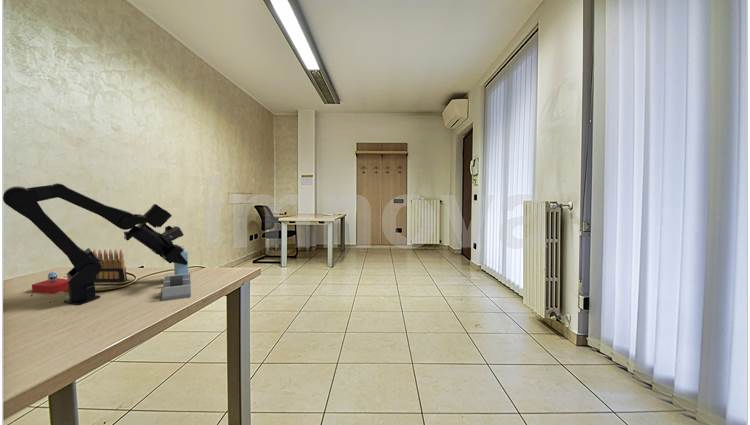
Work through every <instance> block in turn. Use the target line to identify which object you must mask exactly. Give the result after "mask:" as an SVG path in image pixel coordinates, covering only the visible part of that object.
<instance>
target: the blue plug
mask: <svg viewBox="0 0 750 425" xmlns="http://www.w3.org/2000/svg"><path fill="white" fill-rule="evenodd" d="M179 246H180V247H181V248H183V249H184V250H183V251H182V252H181V253H180V254H181V255H182V256H183V257H184V259H185V260H186V261H187V262H188V263H187V265H183V264H178V263H173V269H174V272H173V273H174V275H180V274H189V254H188V252H189V251H186V250H185V246H184V245H179Z"/></svg>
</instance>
